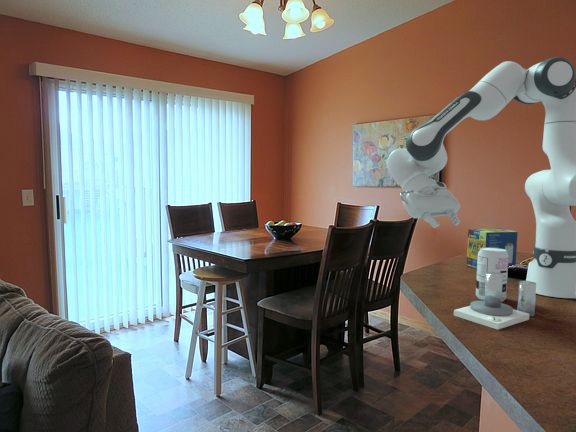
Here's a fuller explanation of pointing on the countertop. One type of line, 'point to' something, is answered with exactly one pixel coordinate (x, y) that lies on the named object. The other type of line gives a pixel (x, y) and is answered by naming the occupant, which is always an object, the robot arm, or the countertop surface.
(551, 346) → the countertop surface
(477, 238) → the protein box
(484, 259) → the supplement can
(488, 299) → the glossy grey rounded cylinder
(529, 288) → the cylinder
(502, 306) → the scale
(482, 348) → the countertop surface
